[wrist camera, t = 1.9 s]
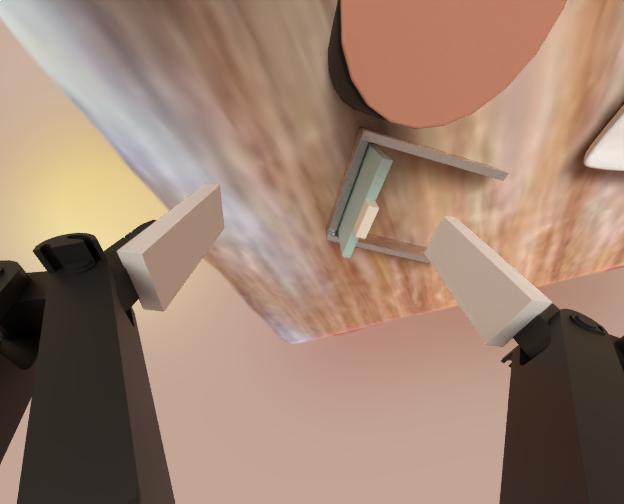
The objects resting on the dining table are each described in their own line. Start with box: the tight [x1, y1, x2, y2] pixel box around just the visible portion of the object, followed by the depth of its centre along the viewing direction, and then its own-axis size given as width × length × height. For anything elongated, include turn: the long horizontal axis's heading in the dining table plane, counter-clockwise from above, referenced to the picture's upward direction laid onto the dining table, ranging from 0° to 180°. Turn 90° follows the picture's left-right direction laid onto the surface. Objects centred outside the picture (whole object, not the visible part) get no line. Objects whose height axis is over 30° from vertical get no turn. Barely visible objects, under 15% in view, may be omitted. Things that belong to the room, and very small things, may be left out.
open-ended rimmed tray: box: [326, 127, 509, 264], centre depth 33 cm, size 20×16×4 cm
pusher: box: [337, 143, 393, 258], centre depth 29 cm, size 1×13×11 cm, turn 166°
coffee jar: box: [328, 0, 567, 129], centre depth 18 cm, size 11×11×18 cm
